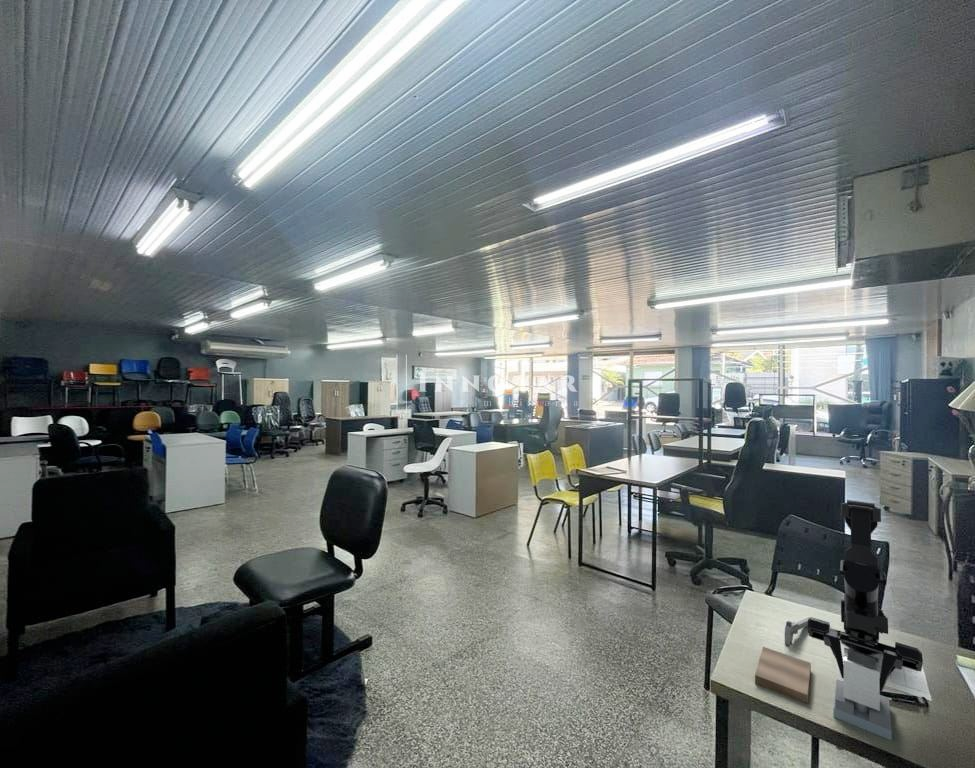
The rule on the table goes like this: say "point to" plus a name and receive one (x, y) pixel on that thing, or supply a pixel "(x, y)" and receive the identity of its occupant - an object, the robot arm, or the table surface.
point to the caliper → (793, 629)
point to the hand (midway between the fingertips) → (861, 684)
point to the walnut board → (784, 674)
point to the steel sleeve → (861, 678)
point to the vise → (863, 713)
